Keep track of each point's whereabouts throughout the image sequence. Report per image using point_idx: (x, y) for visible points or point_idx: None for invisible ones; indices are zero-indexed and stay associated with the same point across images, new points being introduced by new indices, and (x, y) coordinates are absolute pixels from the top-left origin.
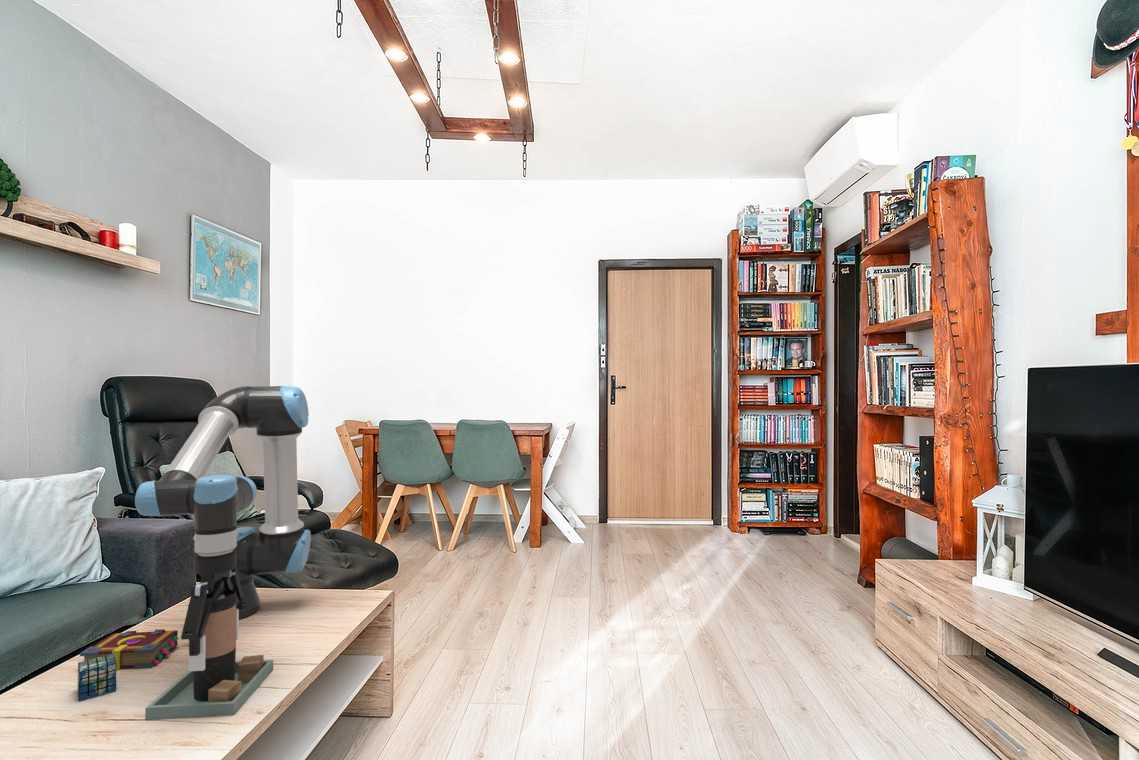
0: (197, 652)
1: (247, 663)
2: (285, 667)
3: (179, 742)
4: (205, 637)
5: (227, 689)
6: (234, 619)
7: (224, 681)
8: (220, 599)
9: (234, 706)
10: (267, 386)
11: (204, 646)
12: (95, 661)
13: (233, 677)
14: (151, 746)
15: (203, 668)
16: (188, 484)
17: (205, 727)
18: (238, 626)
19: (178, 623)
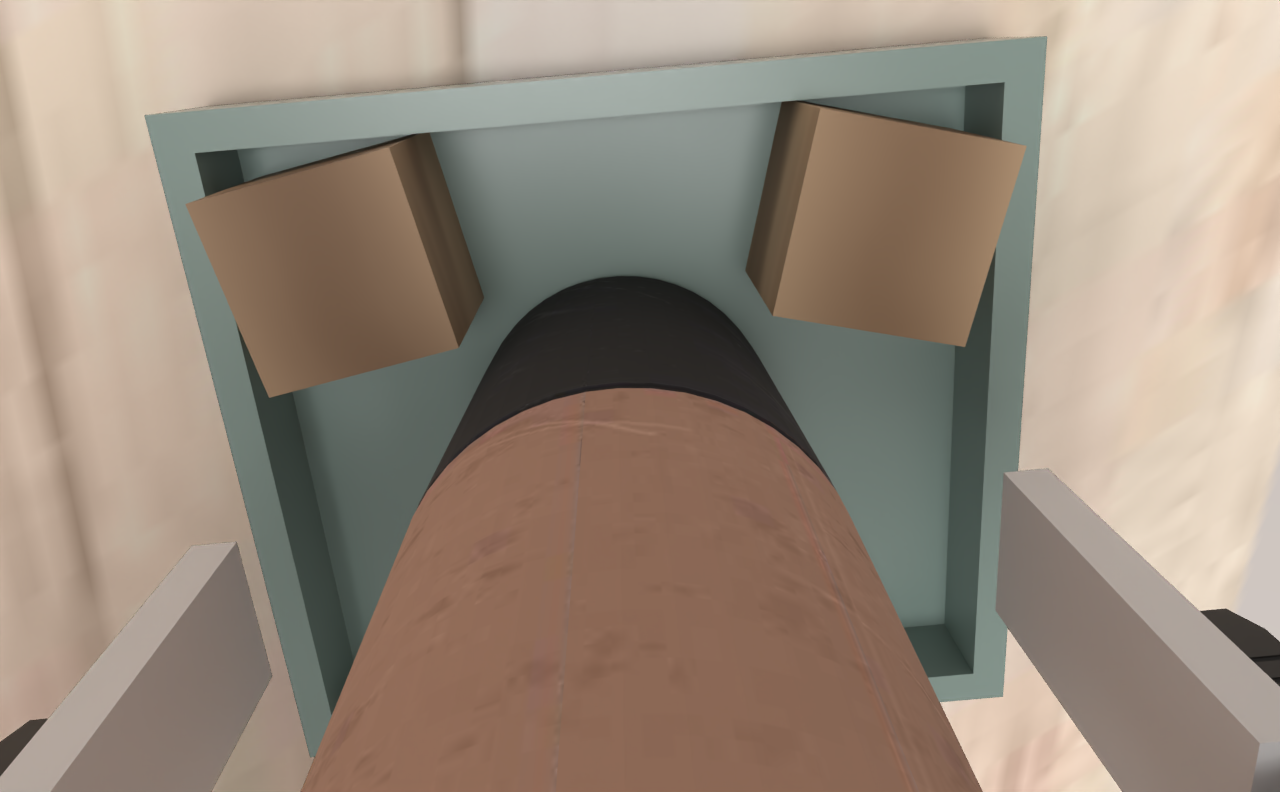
0: (1246, 634)
1: (419, 267)
2: (69, 39)
3: (1239, 277)
4: (1234, 718)
5: (984, 161)
6: (591, 628)
7: (810, 288)
8: None
9: (1023, 37)
10: None
11: (1183, 626)
12: None
13: (600, 300)
14: (1243, 431)
15: (1050, 479)
16: None
17: (1072, 205)
18: (112, 641)
19: None
